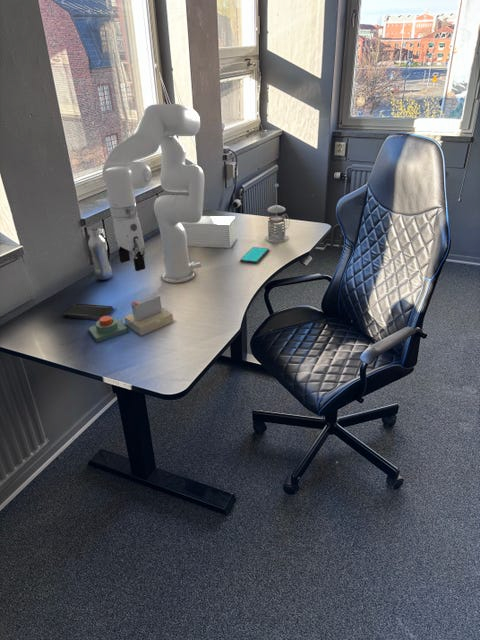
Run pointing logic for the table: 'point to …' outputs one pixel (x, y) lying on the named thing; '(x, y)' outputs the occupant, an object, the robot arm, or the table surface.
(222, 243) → the white storage box
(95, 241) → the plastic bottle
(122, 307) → the table surface
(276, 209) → the french press
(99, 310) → the phone
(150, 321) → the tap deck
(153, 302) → the grey block
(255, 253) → the smartphone
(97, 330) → the button box
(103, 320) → the button
